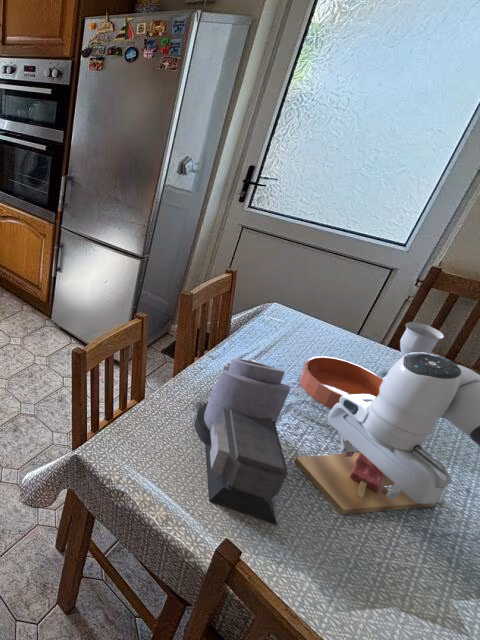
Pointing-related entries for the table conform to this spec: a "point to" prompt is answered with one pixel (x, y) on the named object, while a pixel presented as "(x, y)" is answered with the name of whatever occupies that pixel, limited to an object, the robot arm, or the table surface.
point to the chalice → (419, 338)
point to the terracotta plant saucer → (336, 380)
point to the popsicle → (366, 475)
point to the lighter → (227, 365)
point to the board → (350, 486)
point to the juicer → (244, 438)
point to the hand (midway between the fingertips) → (365, 473)
